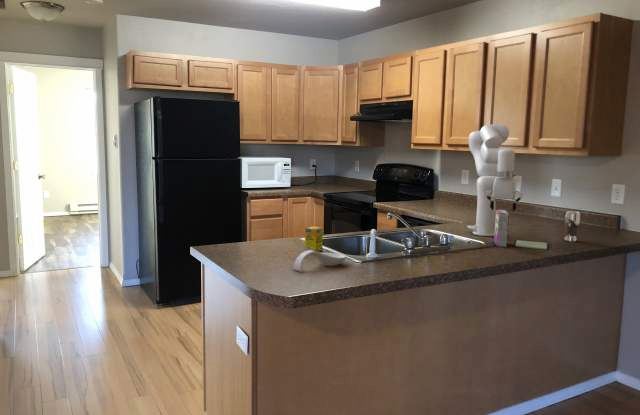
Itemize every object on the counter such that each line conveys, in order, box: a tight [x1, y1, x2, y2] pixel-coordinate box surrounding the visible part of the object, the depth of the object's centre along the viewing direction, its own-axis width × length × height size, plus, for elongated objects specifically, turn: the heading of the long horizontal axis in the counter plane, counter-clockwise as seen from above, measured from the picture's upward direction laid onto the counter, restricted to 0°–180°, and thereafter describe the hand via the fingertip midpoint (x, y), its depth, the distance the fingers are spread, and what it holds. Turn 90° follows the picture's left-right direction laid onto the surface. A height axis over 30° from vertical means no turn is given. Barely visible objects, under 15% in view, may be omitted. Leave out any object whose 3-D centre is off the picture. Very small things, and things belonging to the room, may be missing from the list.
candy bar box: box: [493, 209, 510, 248], centre depth 250 cm, size 11×5×16 cm, turn 168°
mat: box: [514, 239, 548, 250], centre depth 251 cm, size 14×14×1 cm
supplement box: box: [304, 225, 324, 253], centre depth 227 cm, size 6×6×11 cm
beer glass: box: [563, 210, 581, 243], centre depth 262 cm, size 7×7×15 cm
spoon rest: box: [293, 250, 347, 273], centre depth 202 cm, size 24×12×7 cm, turn 133°
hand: (502, 210), depth 248 cm, fingers open, 9 cm apart
